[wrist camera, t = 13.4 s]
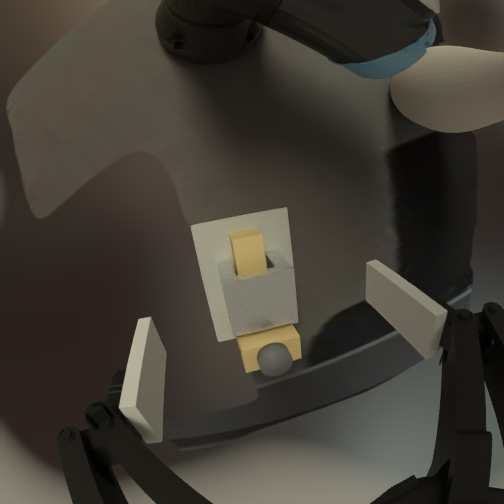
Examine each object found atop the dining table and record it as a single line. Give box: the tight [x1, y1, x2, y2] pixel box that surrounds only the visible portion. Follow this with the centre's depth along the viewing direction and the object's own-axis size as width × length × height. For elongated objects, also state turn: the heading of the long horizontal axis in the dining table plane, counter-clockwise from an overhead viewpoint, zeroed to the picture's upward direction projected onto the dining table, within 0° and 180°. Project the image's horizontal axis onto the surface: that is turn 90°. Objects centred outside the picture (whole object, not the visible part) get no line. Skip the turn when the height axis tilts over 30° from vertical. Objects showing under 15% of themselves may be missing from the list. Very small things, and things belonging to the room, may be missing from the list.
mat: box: [191, 207, 298, 342], centre depth 44 cm, size 20×14×1 cm
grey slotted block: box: [217, 249, 298, 337], centre depth 40 cm, size 8×9×8 cm
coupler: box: [228, 227, 301, 377], centre depth 39 cm, size 17×8×12 cm, turn 8°
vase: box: [390, 46, 504, 133], centre depth 26 cm, size 14×14×30 cm
